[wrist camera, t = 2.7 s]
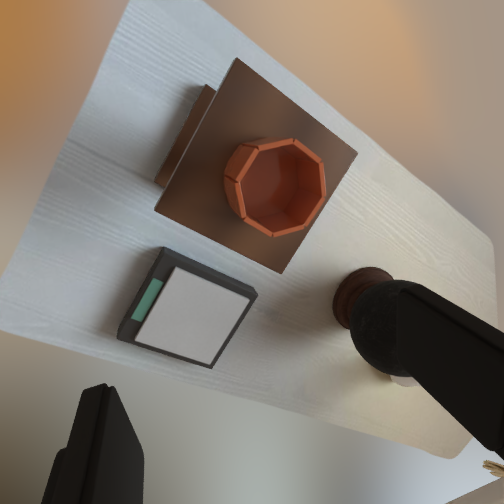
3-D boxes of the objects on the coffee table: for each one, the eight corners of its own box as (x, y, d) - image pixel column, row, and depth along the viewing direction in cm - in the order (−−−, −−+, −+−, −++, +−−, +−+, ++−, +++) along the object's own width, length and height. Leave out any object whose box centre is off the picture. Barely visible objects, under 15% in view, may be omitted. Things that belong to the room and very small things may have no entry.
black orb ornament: (323, 338, 54) (379, 409, 40) (331, 264, 49) (398, 316, 36) (391, 328, 57) (464, 389, 44) (405, 257, 53) (491, 302, 39)
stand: (153, 180, 38) (153, 210, 24) (204, 85, 36) (236, 56, 22) (238, 226, 43) (281, 274, 29) (287, 144, 41) (358, 153, 27)
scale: (117, 328, 44) (115, 342, 41) (163, 246, 41) (164, 254, 39) (209, 358, 49) (212, 372, 46) (253, 287, 47) (259, 297, 44)
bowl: (232, 226, 26) (247, 245, 22) (215, 148, 24) (228, 152, 20) (302, 208, 27) (329, 222, 23) (293, 131, 25) (320, 131, 21)
